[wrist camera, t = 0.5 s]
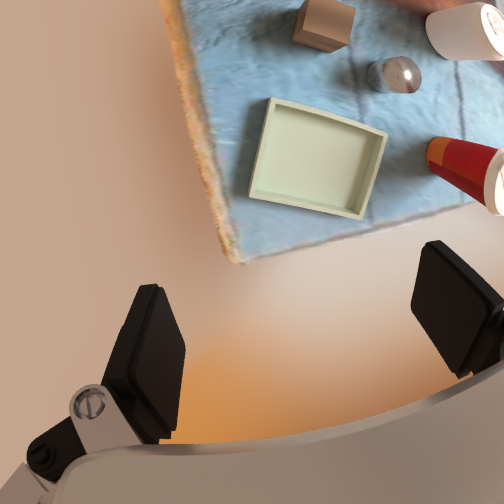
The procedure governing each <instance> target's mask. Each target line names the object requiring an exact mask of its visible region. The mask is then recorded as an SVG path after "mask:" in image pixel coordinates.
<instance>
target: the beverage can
mask: <svg viewBox="0 0 504 504" xmlns="http://www.w3.org/2000/svg"><path fill="white" fill-rule="evenodd" d="M426 32H427V36H428V38H429V40H430V42H431V44H432V46H433V47H434V49H435V50H436V51H437V52H438V53H439V54H440V55H441V56H443V57H444V58H446V59H448V60H452V61H459V60H499V61H501V60H504V16H503V15H502V14H501V13H500V11H499V10H497V9H496V8H495V7H494V6H492V5H489V4H485V3H482V2H474V3H470V4H465V5H460V6H456V7H452V8H448V9H444V10H441V11H437V12H434V13H431V14H430V15H429V16H428V17H427V19H426Z"/></svg>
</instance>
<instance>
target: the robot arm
mask: <svg viewBox="0 0 504 504" xmlns="http://www.w3.org/2000/svg"><path fill="white" fill-rule="evenodd" d="M503 307H504V299H503V298H502V297H501V296H500V295H499V294H498V293H497V292H496V291H495V290H494V289H493V288H492V287H491V286H490V285H489V284H488V283H487V282H486V281H485V280H484V279H483V278H482V277H481V276H480V275H479V274H478V273H477V272H476V271H475V270H474V269H473V268H471V267H470V266H469V265H468V264H467V263H466V262H465V261H464V260H462V258H460V257H459V256H458V255H457V254H456V253H455V252H453V250H451V249H450V248H449V247H448V246H447V245H445V244H444V243H443V242H442V241H440V240H436V241H431V242H427V243H426V244H425V246H424V247H423V248H422V251H421V256H420V262H419V267H418V273H417V277H416V283H415V287H414V292H413V296H412V300H411V310H412V313H413V314H414V315H415V317H416V318H417V320H418V321H419V322H420V324H421V326H422V327H423V328H424V330H425V331H426V333H427V334H428V336H429V338H430V339H431V341H432V342H433V344H434V345H435V347H436V348H437V350H438V351H439V353H440V355H441V356H442V358H443V359H444V361H445V362H446V364H447V366H448V367H449V369H450V370H451V372H453V373H455V374H456V376H457V378H458V379H460V378H463V377H464V376H467V375H468V374H469V373H470V371H472V373H473V376H472V377H470V378H468V379H466V380H464V381H462V382H460V383H458V384H456V385H454V386H451V387H449V388H447V389H445V390H442V391H440V392H438V393H435V394H433V395H431V396H428V397H426V398H423V399H421V400H418V401H416V402H413V403H410V404H407V405H405V406H402V407H399V408H396V409H393V410H390V411H387V412H384V413H381V414H378V415H374V416H371V417H368V418H364V419H361V420H357V421H353V422H350V423H346V424H342V425H337V426H333V427H329V428H324V429H320V430H315V431H310V432H305V433H300V434H294V435H288V436H281V437H274V438H266V439H258V440H249V441H238V442H224V443H207V444H159V439H171V431H175V430H176V427H177V417H178V408H179V398H180V390H181V382H182V374H183V367H184V359H185V351H186V349H185V343H184V340H183V338H182V335H181V333H180V330H179V328H178V325H177V323H176V320H175V317H174V315H173V312H172V310H171V307H170V304H169V302H168V299H167V296H166V293H165V291H164V289H163V288H162V287H158V285H157V284H148V285H141V286H140V287H139V289H138V291H137V293H136V296H135V298H134V301H133V303H132V305H131V308H130V310H129V313H128V315H127V318H126V320H125V323H124V325H123V326H122V328H121V330H120V332H119V335H118V337H117V340H116V343H115V345H114V348H113V351H112V353H111V356H110V359H109V362H108V364H107V367H106V370H105V373H104V376H103V379H102V382H101V385H98V384H91V385H87V386H84V387H82V388H81V389H79V390H78V391H77V392H76V393H75V394H74V395H73V397H72V399H71V401H70V405H69V411H70V416H69V417H68V418H66V419H64V420H63V421H62V422H60V423H59V424H57V425H55V426H54V427H52V428H51V429H49V430H48V431H46V432H45V433H43V434H42V435H40V436H39V437H37V438H36V439H35V440H33V441H32V442H31V444H30V445H29V447H28V450H27V464H25V463H22V464H21V465H20V466H19V467H18V469H17V470H16V471H15V472H14V473H13V475H12V476H11V477H10V478H9V480H8V481H7V482H6V483H5V485H4V486H3V487H2V488H1V489H0V504H504V311H503Z"/></svg>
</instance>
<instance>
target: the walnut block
mask: <svg viewBox="0 0 504 504" xmlns="http://www.w3.org/2000/svg"><path fill="white" fill-rule="evenodd" d="M355 10H356V9H355V8H353V7H350V6H348V5H345V4H343V3H340V2H337V1H334V0H305V1H304V3H303V4H302V5H301V7H300V8H299V11H298V15H297V19H296V23H295V27H294V31H293V35H292V39H291V41H292V42H296V43H299V44H303V45H306V46H310V47H313V48H316V49H320V50H323V51H326V52H329V53H332V52H334V51H336V50H338V49H340V48H342V47H344V46H346V45H348V44H349V39H350V34H351V30H352V25H353V20H354V15H355Z"/></svg>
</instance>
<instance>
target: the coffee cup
mask: <svg viewBox="0 0 504 504" xmlns="http://www.w3.org/2000/svg"><path fill="white" fill-rule="evenodd" d="M426 161H427V165H428V167H429V169H430V170H431V171H432V172H433V173H435V174H436V175H438V176H439V177H441V178H443V179H444V180H446V181H448V182H449V183H451V184H452V185H454V186H456V187H457V188H459V189H460V190H462V191H463V192H465V193H467V194H468V195H470V196H471V197H473V198H474V199H476V200H477V201H479V202H480V203H481V204H483V205H484V206H486V207H487V209H488V211H489V212H490V213H491V214H493V215H495V216H504V148H501V149H496V148H493V147H489V146H485V145H481V144H477V143H472V142H468V141H463V140H459V139H453V138H448V137H436V138H434V139H433V140H432V141H431V142H430V143H429V145H428V147H427V150H426Z"/></svg>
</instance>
